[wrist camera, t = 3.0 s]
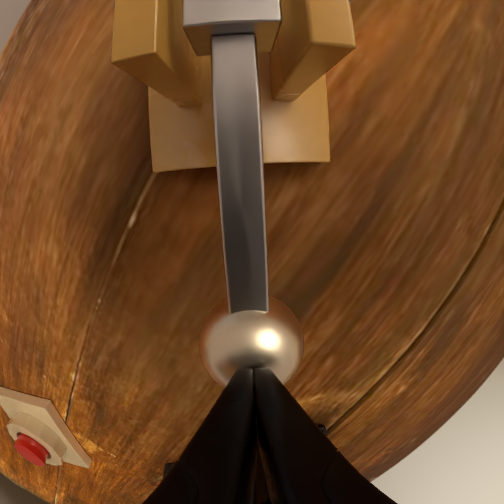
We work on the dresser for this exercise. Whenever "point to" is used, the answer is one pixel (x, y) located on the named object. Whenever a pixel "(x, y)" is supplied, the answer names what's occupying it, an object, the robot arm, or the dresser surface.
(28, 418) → the button block
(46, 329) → the dresser surface
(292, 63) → the tap bracket
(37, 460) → the button
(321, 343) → the dresser surface
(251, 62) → the tap lever
